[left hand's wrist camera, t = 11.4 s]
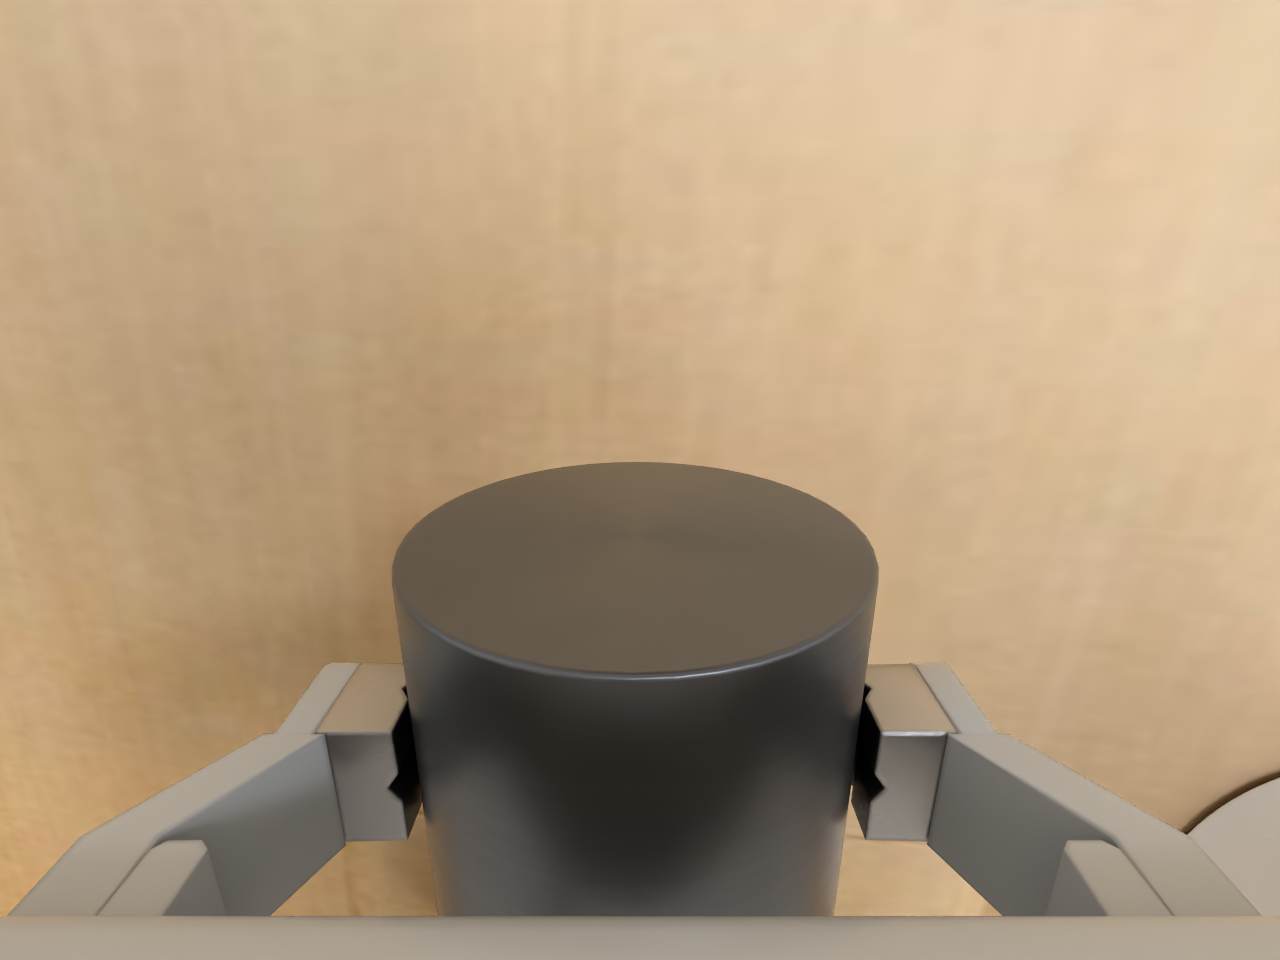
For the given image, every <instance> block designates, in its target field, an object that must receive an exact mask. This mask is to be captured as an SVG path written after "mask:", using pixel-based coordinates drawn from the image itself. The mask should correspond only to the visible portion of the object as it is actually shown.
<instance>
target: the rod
mask: <svg viewBox="0 0 1280 960" xmlns="http://www.w3.org/2000/svg"><path fill="white" fill-rule="evenodd" d="M878 572H879V567H878V563H877V560H876V556H875V553H874V550H873V548H872V546H871V544H870V542H869V541H868V539H867V537H866V536H865V535H864V533H863V532H862V531H861V530H860V529H859V528H858V527H857V526H856V525H855V524H854V523H853V522H852V521H851V520H850V519H848V518H847V517H846V516H845V515H843V514H842V513H841V512H839V511H838V510H836V509H835V508H833V507H831V506H830V505H828V504H827V503H825V502H823V501H821V500H819V499H817V498H815V497H813V496H811V495H809V494H807V493H804V492H802V491H799V490H797V489H794V488H792V487H789V486H786V485H783V484H780V483H777V482H774V481H771V480H767V479H764V478H760V477H756V476H752V475H748V474H744V473H739V472H734V471H729V470H724V469H717V468H711V467H704V466H695V465H685V464H672V463H652V462H621V463H600V464H587V465H578V466H569V467H562V468H556V469H549V470H544V471H539V472H534V473H529V474H524V475H521V476H517V477H513V478H509V479H505V480H502V481H499V482H495V483H492V484H489V485H486V486H483V487H481V488H478V489H476V490H473V491H471V492H468V493H466V494H463V495H461V496H459V497H457V498H455V499H453V500H451V501H449V502H447V503H445V504H444V505H442V506H440V507H439V508H437V509H436V510H434V511H432V512H431V513H429V514H428V515H427V516H426V517H424V518H423V519H422V520H421V521H420V522H418V523H417V524H416V525H415V526H414V527H413V528H412V529H411V530H410V532H409V533H408V534H407V535H406V536H405V538H404V539H403V541H402V543H401V544H400V546H399V548H398V549H397V552H396V555H395V559H394V562H393V566H392V586H393V593H394V600H395V608H396V615H397V622H398V629H399V636H400V644H401V651H402V658H403V665H404V672H405V680H406V687H407V694H408V701H409V708H410V716H411V723H412V730H413V737H414V744H415V752H416V759H417V766H418V773H419V780H420V788H421V795H422V802H423V809H424V816H425V824H426V831H427V838H428V845H429V852H430V860H431V867H432V874H433V881H434V888H435V896H436V903H437V910H438V916H833V915H834V908H835V900H836V893H837V885H838V878H839V870H840V863H841V856H842V848H843V841H844V833H845V826H846V818H847V811H848V803H849V796H850V789H851V781H852V774H853V766H854V759H855V751H856V744H857V736H858V729H859V722H860V714H861V707H862V699H863V692H864V684H865V677H866V670H867V662H868V655H869V647H870V640H871V632H872V625H873V617H874V610H875V603H876V595H877V588H878Z"/></svg>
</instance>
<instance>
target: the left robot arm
mask: <svg viewBox="0 0 1280 960" xmlns="http://www.w3.org/2000/svg"><path fill="white" fill-rule="evenodd" d="M851 785H852V786H853V791H852V799H851V802H852V805H853V808H854V810H855V813H856V816H857V818H858V821H859V824H860V826H861V829H862V832H863V834H864V837H865V840H895V841H928V842H927V845H928V846H929V847H930V848H931V849H933V850H934V851H935V852H936V853H937V854H938V855H939V856H940V857H941V858H942V859H943V860H944V861H945V862H946V863H947V864H948V865H949V866H950V867H952V868H953V869H954V870H955V871H956V872H957V873H958V874H959V875H960V876H961V877H962V878H963V879H964V880H965V881H966V882H967V883H968V884H970V885H971V886H972V887H973V888H974V889H975V890H976V891H977V892H978V893H979V894H980V895H981V896H982V897H983V898H984V899H985V900H986V901H988V902H989V903H990V904H991V905H992V906H993V907H994V908H995V909H996V910H997V911H998V912H999V913H1000V914H1001V915H1002V916H270V915H271V914H272V913H273V912H274V911H276V910H277V909H278V908H279V907H280V906H281V905H282V904H283V903H284V902H285V901H286V900H287V899H288V898H289V897H291V896H292V895H293V894H294V893H295V892H296V891H297V890H298V889H299V888H300V887H301V886H302V885H303V884H304V883H306V882H307V881H308V880H309V879H310V878H311V877H312V876H313V875H314V874H315V873H316V872H317V871H318V870H319V869H321V868H322V867H323V866H324V865H325V864H326V863H327V862H328V861H329V860H330V859H331V858H332V857H333V856H334V855H336V854H337V853H338V852H339V851H340V850H341V849H342V848H343V847H344V846H345V845H346V843H345V841H377V840H408V837H409V835H410V832H411V830H412V827H413V824H414V822H415V819H416V817H417V814H418V811H419V809H420V806H421V804H422V795H421V788H420V780H419V773H418V766H417V759H416V752H415V744H414V737H413V730H412V723H411V716H410V708H409V701H408V694H407V687H406V680H405V672H404V665H403V663H330V664H327V665H325V666H324V667H323V668H322V669H321V671H320V672H319V674H318V675H317V676H316V678H315V679H314V680H313V682H312V683H311V685H310V686H309V687H308V689H307V690H306V691H305V693H304V694H303V696H302V697H301V698H300V700H299V701H298V702H297V704H296V705H295V707H294V708H293V709H292V711H291V712H290V713H289V715H288V716H287V718H286V719H285V720H284V722H283V723H282V724H281V726H280V727H279V728H278V730H277V731H276V733H275V734H263V735H261V736H259V737H258V738H256V739H254V740H252V741H251V742H249V743H247V744H245V745H243V746H242V747H240V748H238V749H236V750H234V751H233V752H231V753H229V754H227V755H226V756H224V757H222V758H220V759H218V760H217V761H215V762H213V763H211V764H209V765H208V766H206V767H204V768H202V769H201V770H199V771H197V772H195V773H193V774H192V775H190V776H188V777H186V778H184V779H183V780H181V781H179V782H177V783H176V784H174V785H172V786H170V787H168V788H167V789H165V790H163V791H161V792H159V793H158V794H156V795H154V796H152V797H151V798H149V799H147V800H145V801H143V802H142V803H140V804H138V805H136V806H134V807H133V808H131V809H129V810H127V811H126V812H124V813H122V814H120V815H118V816H117V817H115V818H113V819H111V820H109V821H108V822H106V823H104V824H102V825H101V826H99V827H97V828H95V829H93V830H92V831H90V832H88V833H86V834H84V835H83V836H81V837H79V839H78V840H77V841H76V842H75V843H74V844H73V845H72V846H71V847H70V848H69V849H68V850H67V852H66V853H65V854H64V855H63V856H62V857H61V858H60V859H59V860H58V861H57V862H56V863H55V865H54V866H53V867H52V868H51V869H50V870H49V871H48V872H47V873H46V874H45V875H44V876H43V878H42V879H41V880H40V881H39V882H38V883H37V884H36V885H35V886H34V887H33V888H32V889H31V891H30V892H29V893H28V894H27V895H26V896H25V897H24V898H23V899H22V900H21V901H20V902H19V904H18V905H17V906H16V907H15V908H14V909H13V910H12V911H11V912H10V913H9V914H8V915H7V916H0V960H1280V778H1277V779H1275V780H1272V781H1269V782H1267V783H1265V784H1262V785H1260V786H1258V787H1255V788H1253V789H1251V790H1249V791H1247V792H1245V793H1243V794H1242V795H1240V796H1238V797H1236V798H1234V799H1233V800H1231V801H1229V802H1228V803H1226V804H1225V805H1223V806H1222V807H1220V808H1219V809H1217V810H1216V811H1214V812H1213V813H1212V814H1210V815H1209V816H1208V817H1206V818H1205V819H1204V820H1203V821H1202V822H1200V823H1199V824H1198V825H1197V826H1196V827H1195V828H1194V829H1193V830H1192V831H1191V832H1190V833H1189V834H1188V835H1186V834H1184V833H1182V832H1181V831H1179V830H1177V829H1175V828H1173V827H1172V826H1170V825H1168V824H1166V823H1165V822H1163V821H1161V820H1159V819H1158V818H1156V817H1154V816H1152V815H1151V814H1149V813H1147V812H1145V811H1144V810H1142V809H1140V808H1138V807H1136V806H1135V805H1133V804H1131V803H1129V802H1128V801H1126V800H1124V799H1122V798H1121V797H1119V796H1117V795H1115V794H1114V793H1112V792H1110V791H1108V790H1106V789H1105V788H1103V787H1101V786H1099V785H1098V784H1096V783H1094V782H1092V781H1091V780H1089V779H1087V778H1085V777H1084V776H1082V775H1080V774H1078V773H1076V772H1075V771H1073V770H1071V769H1069V768H1068V767H1066V766H1064V765H1062V764H1061V763H1059V762H1057V761H1055V760H1054V759H1052V758H1050V757H1048V756H1047V755H1045V754H1043V753H1041V752H1039V751H1038V750H1036V749H1034V748H1032V747H1031V746H1029V745H1027V744H1025V743H1024V742H1022V741H1020V740H1018V739H1017V738H1015V737H1013V736H1011V735H1009V734H998V733H997V732H996V730H995V729H994V728H993V726H992V725H991V723H990V722H989V721H988V719H987V718H986V717H985V715H984V714H983V712H982V711H981V710H980V708H979V707H978V705H977V704H976V703H975V701H974V700H973V698H972V697H971V696H970V694H969V693H968V692H967V690H966V689H965V687H964V686H963V685H962V683H961V682H960V680H959V679H958V678H957V676H956V675H955V673H954V672H953V671H952V669H951V668H950V666H949V665H947V664H945V663H943V662H931V663H909V664H871V665H867V670H866V677H865V684H864V692H863V699H862V707H861V714H860V722H859V729H858V736H857V744H856V751H855V759H854V766H853V774H852V781H851Z"/></svg>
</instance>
